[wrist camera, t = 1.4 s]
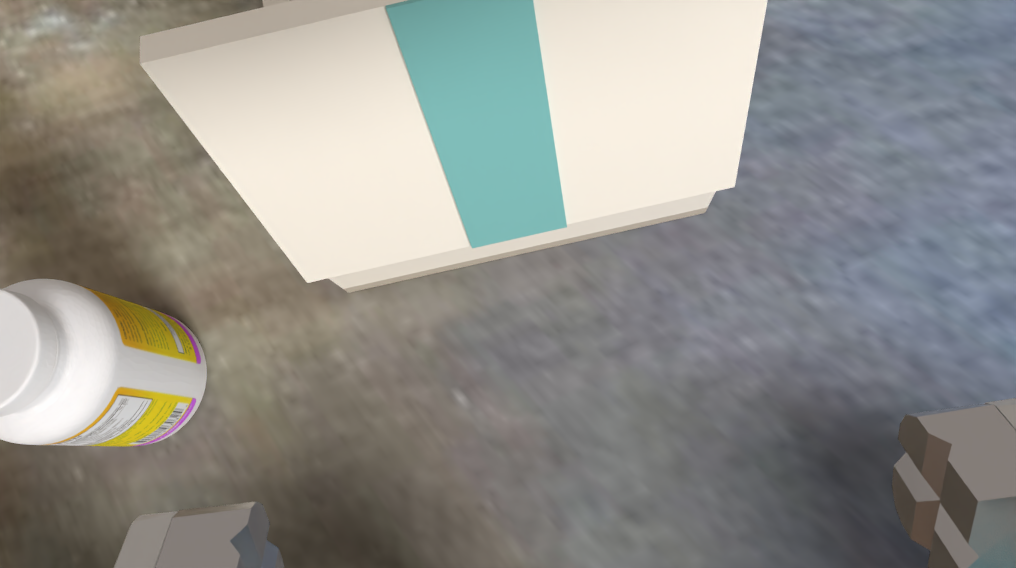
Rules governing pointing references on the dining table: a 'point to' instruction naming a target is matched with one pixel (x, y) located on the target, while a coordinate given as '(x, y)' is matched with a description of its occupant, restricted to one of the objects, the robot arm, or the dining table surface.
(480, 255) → the storage box
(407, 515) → the dining table surface
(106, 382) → the supplement bottle
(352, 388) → the dining table surface
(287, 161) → the box lid
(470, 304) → the dining table surface
